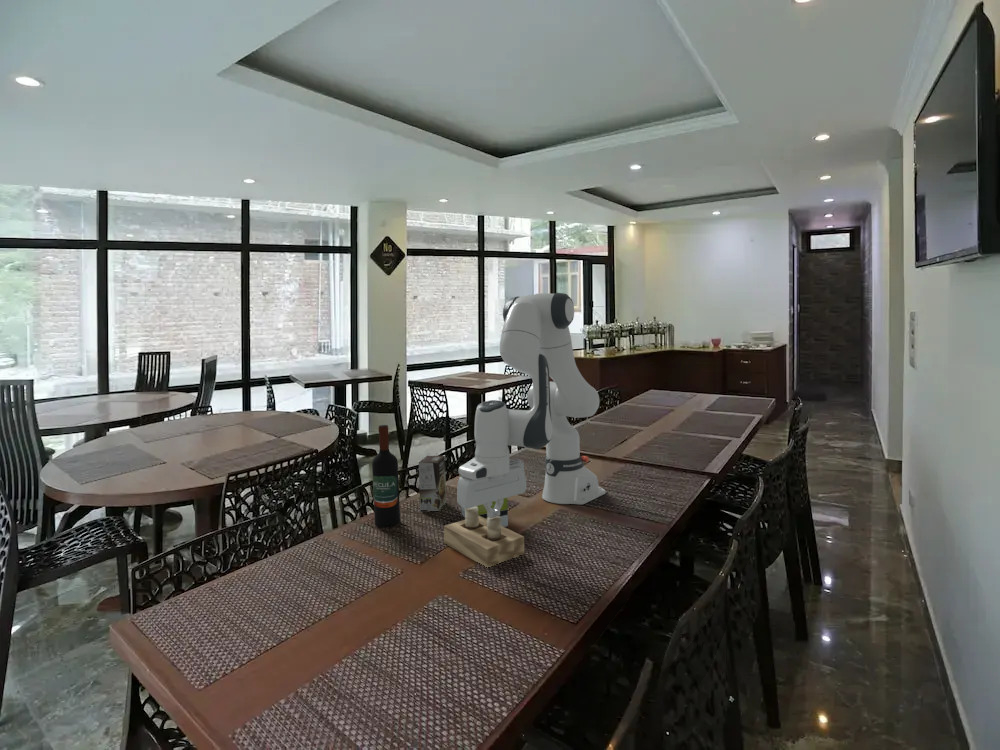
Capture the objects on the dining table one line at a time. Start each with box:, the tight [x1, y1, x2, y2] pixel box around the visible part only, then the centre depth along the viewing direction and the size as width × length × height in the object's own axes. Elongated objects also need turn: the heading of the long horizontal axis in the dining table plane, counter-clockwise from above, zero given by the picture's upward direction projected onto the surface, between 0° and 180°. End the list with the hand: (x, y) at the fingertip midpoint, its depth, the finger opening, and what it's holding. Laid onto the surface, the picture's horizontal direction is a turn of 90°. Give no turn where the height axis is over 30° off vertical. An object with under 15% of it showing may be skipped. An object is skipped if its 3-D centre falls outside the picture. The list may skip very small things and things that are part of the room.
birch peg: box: [487, 516, 501, 542], centre depth 152 cm, size 4×4×10 cm
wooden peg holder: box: [443, 506, 525, 569], centre depth 156 cm, size 12×20×10 cm, turn 38°
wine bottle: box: [371, 424, 401, 529], centre depth 175 cm, size 8×8×30 cm
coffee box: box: [418, 455, 447, 512], centre depth 189 cm, size 9×6×16 cm
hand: (493, 516), depth 151 cm, fingers closed
